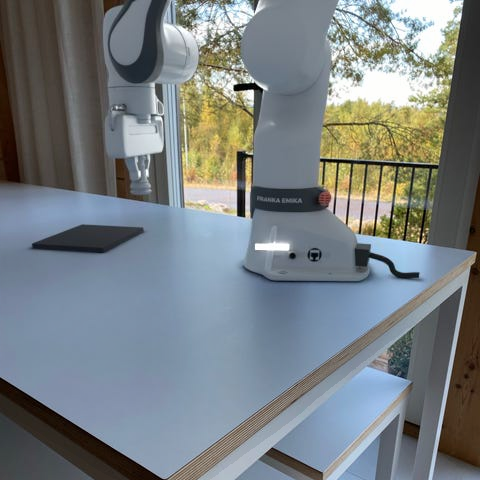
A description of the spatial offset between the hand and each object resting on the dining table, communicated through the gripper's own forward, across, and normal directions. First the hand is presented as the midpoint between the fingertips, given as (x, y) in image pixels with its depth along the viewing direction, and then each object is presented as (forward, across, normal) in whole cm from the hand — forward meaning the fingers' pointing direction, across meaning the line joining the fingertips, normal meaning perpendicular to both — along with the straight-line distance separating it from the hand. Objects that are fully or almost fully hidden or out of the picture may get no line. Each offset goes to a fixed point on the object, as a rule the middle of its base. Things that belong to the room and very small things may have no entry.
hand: (139, 179), depth 97 cm
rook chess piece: (+3, 0, 0) cm, 3 cm away
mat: (+13, 0, +13) cm, 18 cm away
